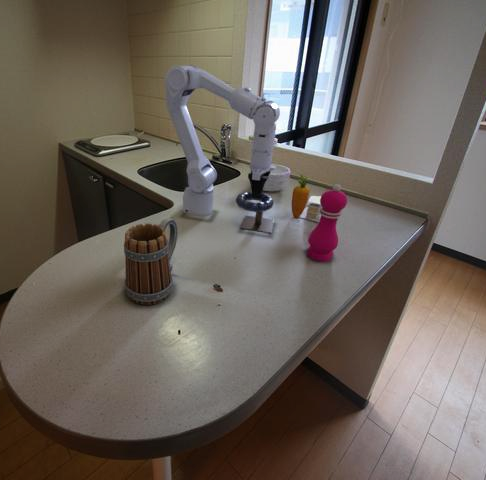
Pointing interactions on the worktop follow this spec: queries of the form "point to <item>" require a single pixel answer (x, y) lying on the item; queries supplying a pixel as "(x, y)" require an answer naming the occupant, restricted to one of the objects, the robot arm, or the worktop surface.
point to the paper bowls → (277, 178)
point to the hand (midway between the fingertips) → (256, 195)
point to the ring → (251, 206)
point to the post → (258, 223)
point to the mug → (149, 261)
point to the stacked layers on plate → (312, 209)
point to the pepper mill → (327, 225)
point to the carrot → (300, 197)
